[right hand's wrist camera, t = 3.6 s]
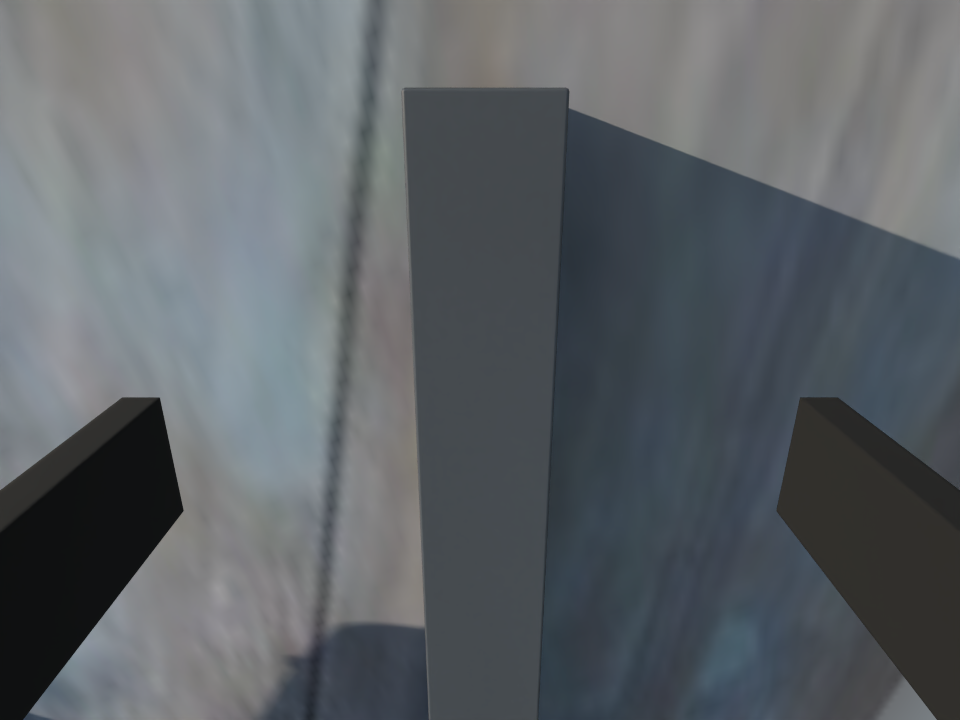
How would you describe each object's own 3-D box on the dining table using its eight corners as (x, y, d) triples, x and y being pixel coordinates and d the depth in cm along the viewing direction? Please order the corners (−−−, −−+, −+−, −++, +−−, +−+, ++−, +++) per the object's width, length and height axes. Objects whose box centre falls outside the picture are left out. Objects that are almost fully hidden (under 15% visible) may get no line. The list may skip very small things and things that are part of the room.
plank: (424, 97, 23) (400, 87, 16) (544, 97, 23) (569, 87, 16) (450, 930, 43) (444, 1081, 36) (514, 931, 43) (520, 1082, 36)
